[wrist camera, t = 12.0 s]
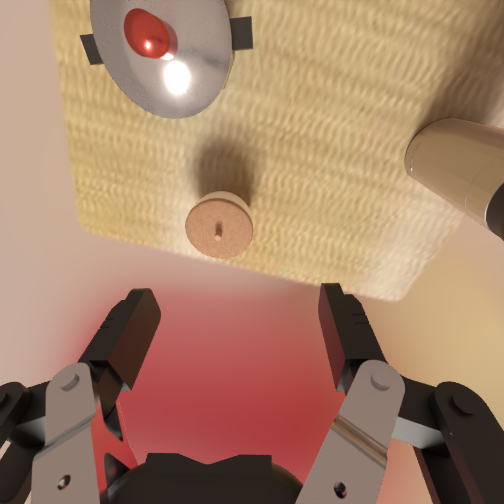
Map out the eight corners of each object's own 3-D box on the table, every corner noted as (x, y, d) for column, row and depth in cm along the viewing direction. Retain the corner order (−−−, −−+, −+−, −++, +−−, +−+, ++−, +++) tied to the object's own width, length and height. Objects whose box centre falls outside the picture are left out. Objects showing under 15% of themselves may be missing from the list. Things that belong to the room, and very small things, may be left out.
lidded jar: (205, 238, 48) (194, 268, 40) (188, 186, 42) (171, 211, 34) (258, 231, 47) (257, 261, 39) (248, 177, 41) (245, 200, 33)
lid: (224, -67, 21) (211, -118, 15) (238, 113, 29) (233, 122, 23) (74, -52, 22) (11, -94, 16) (128, 119, 30) (98, 129, 24)
